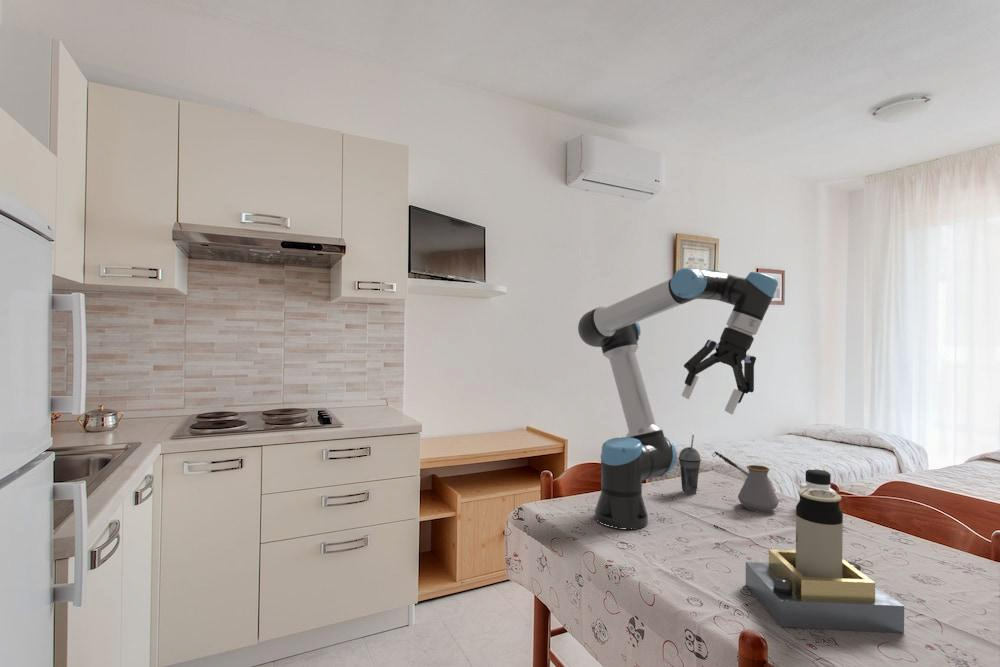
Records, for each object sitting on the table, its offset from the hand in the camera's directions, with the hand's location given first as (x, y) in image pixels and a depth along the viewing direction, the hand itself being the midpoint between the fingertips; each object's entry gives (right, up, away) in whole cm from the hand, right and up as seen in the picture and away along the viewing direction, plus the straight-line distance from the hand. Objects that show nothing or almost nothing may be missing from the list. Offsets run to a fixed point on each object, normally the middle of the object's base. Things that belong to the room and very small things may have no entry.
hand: (706, 405), depth 134 cm
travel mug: (+9, -31, -32) cm, 46 cm away
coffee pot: (+24, -36, +29) cm, 52 cm away
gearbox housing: (+9, -36, -32) cm, 49 cm away
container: (+43, -36, +21) cm, 60 cm away
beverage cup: (+10, -36, +40) cm, 55 cm away
